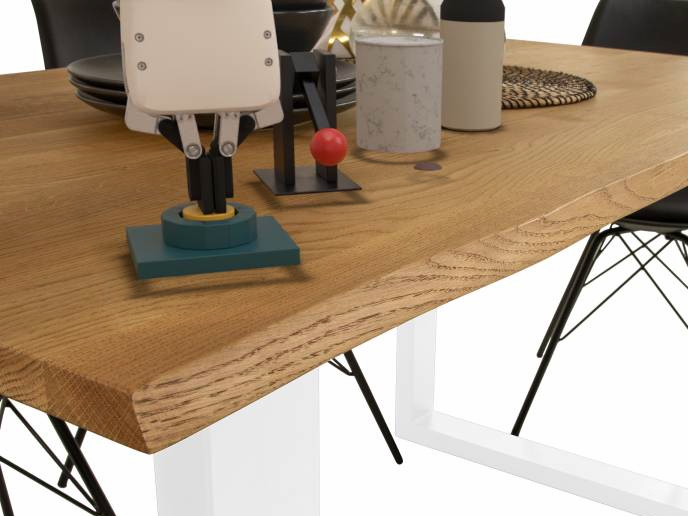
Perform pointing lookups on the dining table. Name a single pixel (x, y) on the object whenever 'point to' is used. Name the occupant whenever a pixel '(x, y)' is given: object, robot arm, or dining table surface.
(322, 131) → the lever
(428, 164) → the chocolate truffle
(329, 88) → the bracket
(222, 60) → the robot arm
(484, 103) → the travel mug
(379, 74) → the white marbled canister
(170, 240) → the control block
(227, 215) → the button
